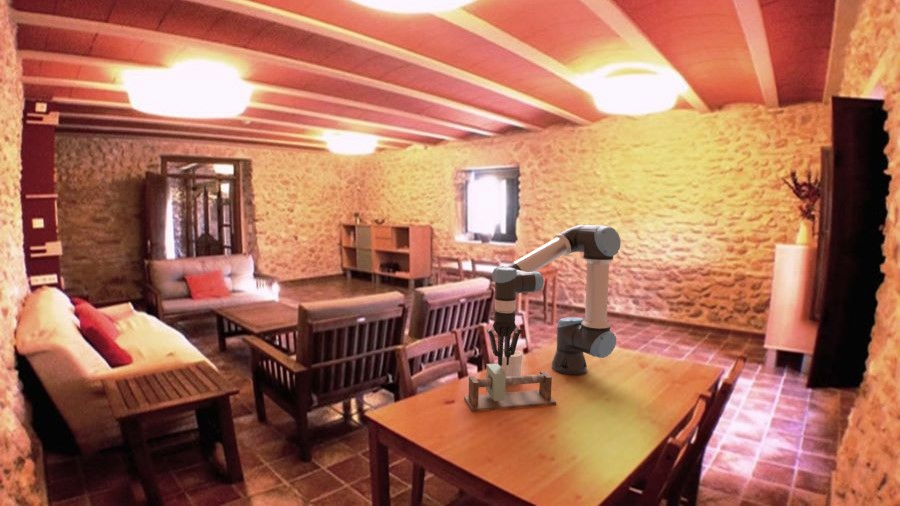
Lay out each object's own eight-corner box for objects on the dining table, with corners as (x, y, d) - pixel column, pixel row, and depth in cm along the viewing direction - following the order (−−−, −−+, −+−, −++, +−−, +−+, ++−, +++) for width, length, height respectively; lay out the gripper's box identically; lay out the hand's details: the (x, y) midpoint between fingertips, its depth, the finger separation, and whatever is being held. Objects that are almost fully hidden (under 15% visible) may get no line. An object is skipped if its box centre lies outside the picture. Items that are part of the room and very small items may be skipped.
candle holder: (520, 376, 190) (521, 349, 188) (522, 385, 180) (523, 357, 179) (497, 375, 191) (498, 348, 189) (497, 384, 181) (498, 355, 180)
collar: (496, 389, 169) (496, 363, 168) (504, 400, 159) (505, 373, 158) (485, 389, 168) (486, 364, 167) (494, 401, 158) (495, 374, 157)
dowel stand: (543, 392, 174) (544, 368, 173) (556, 404, 163) (557, 379, 162) (464, 398, 167) (464, 373, 166) (471, 412, 156) (472, 385, 155)
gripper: (518, 307, 166) (516, 368, 169) (484, 308, 163) (482, 371, 166) (525, 312, 159) (523, 376, 161) (490, 313, 156) (489, 378, 158)
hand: (502, 373), depth 163 cm, fingers closed
